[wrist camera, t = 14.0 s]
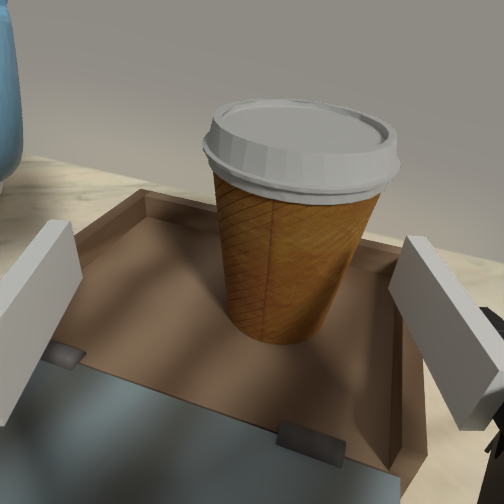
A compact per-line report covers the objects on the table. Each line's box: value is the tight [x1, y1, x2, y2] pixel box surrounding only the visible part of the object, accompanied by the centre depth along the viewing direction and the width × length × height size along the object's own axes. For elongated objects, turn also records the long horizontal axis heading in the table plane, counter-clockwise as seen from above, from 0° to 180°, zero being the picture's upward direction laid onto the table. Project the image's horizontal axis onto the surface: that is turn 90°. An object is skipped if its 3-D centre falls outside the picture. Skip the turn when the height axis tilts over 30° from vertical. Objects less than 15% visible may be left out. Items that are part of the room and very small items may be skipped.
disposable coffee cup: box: [203, 98, 400, 345], centre depth 22 cm, size 10×10×12 cm
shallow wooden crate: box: [0, 189, 428, 504], centre depth 23 cm, size 23×23×4 cm
